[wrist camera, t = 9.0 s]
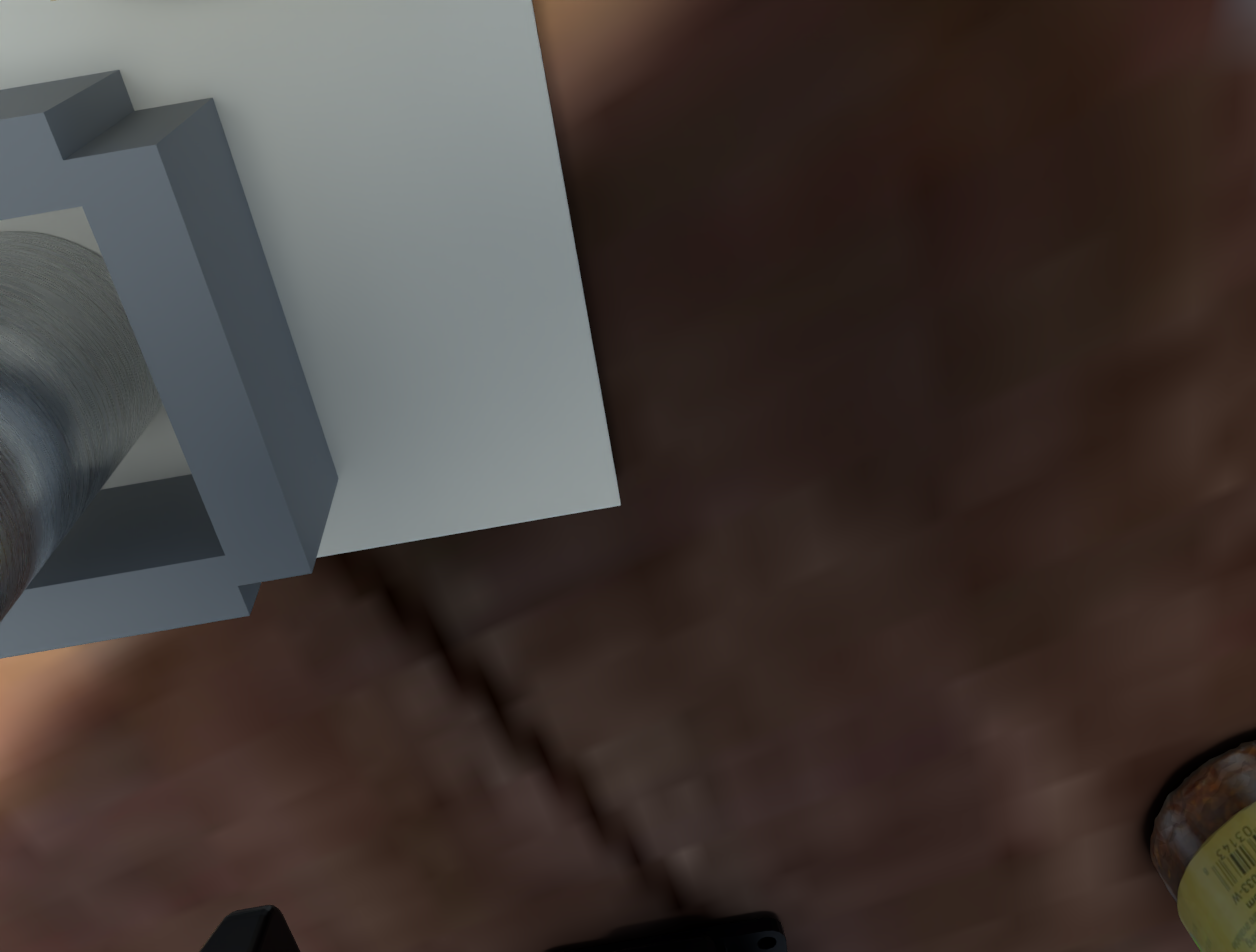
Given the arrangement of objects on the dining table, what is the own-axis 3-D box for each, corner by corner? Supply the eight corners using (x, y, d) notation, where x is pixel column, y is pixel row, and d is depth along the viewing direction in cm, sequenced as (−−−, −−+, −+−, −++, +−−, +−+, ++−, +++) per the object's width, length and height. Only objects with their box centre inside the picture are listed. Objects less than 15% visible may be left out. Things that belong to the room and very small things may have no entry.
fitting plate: (616, 479, 22) (635, 599, 18) (-80, 598, 22) (-193, 741, 18) (422, -618, 13) (389, -777, 10) (-696, -428, 13) (-1116, -523, 10)
